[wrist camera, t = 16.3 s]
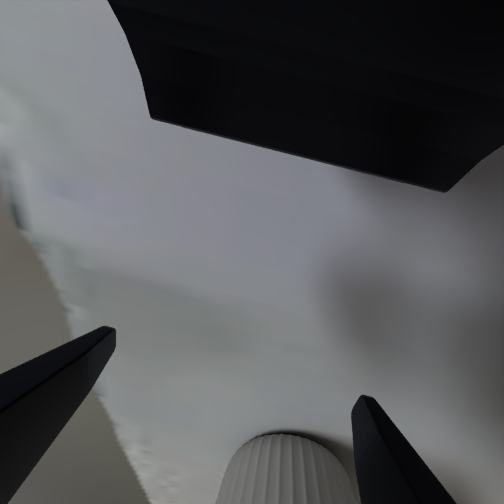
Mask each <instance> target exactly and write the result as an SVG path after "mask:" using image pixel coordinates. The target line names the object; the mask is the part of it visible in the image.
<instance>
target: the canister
mask: <svg viewBox="0 0 504 504" xmlns="http://www.w3.org/2000/svg"><path fill="white" fill-rule="evenodd" d="M215 504H358V502H357V499H356V495H355V492H354V489H353V487H352V484H351V482H350V480H349V477H348V475H347V473H346V471H345V469H344V467H343V466H342V465H341V463H340V462H339V460H338V459H337V458H336V457H335V456H334V455H333V454H332V453H331V452H330V451H329V450H328V449H325V447H324V446H322V445H319V444H317V443H316V442H315V441H310V440H309V439H307V438H302V437H300V436H293V435H291V434H290V435H284V434H279V435H277V434H272V435H265V436H263V437H257V438H256V439H252V440H250V441H249V442H247V443H245V444H244V445H243V446H242V447H240V448H239V449H238V450H237V451H236V453H235V455H234V456H233V457H232V459H231V460H230V462H229V464H228V467H227V469H226V472H225V475H224V478H223V480H222V484H221V487H220V490H219V493H218V497H217V500H216V503H215Z"/></svg>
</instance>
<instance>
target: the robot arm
mask: <svg viewBox="0 0 504 504" xmlns="http://www.w3.org/2000/svg"><path fill="white" fill-rule="evenodd" d="M108 2H109V4H110V6H111V8H112V10H113V12H114V14H115V15H116V17H117V19H118V21H119V23H120V25H121V27H122V29H123V31H124V32H125V35H126V37H127V40H128V43H129V45H130V48H131V51H132V53H133V56H134V59H135V61H136V64H137V66H138V69H139V72H140V74H141V78H142V82H143V87H144V91H145V96H146V100H147V105H148V109H149V113H150V117H151V118H152V119H154V120H158V121H162V122H166V123H169V124H173V125H177V126H181V127H184V128H188V129H192V130H195V131H199V132H203V133H207V134H211V135H215V136H219V137H223V138H227V139H231V140H235V141H239V142H243V143H247V144H251V145H255V146H259V147H263V148H267V149H271V150H275V151H279V152H283V153H287V154H291V155H295V156H299V157H303V158H307V159H310V160H314V161H318V162H322V163H326V164H330V165H334V166H338V167H342V168H346V169H350V170H354V171H358V172H362V173H366V174H370V175H374V176H378V177H382V178H386V179H390V180H394V181H398V182H402V183H407V184H411V185H415V186H419V187H423V188H427V189H431V190H435V191H439V192H443V193H445V192H447V191H448V190H450V189H451V188H452V187H453V186H454V185H455V184H456V183H457V182H458V181H459V180H460V179H461V178H463V177H464V176H465V175H466V174H467V173H468V172H469V171H470V170H471V169H472V168H473V167H474V166H475V165H476V164H477V163H479V162H480V161H481V160H482V159H484V158H485V157H486V156H488V155H489V154H491V153H492V152H494V151H495V150H497V149H498V148H499V147H501V146H502V145H504V0H108ZM115 347H116V329H115V328H112V327H108V326H102V327H100V328H97V329H95V330H93V331H91V332H89V333H87V334H85V335H83V336H80V337H78V338H76V339H74V340H72V341H70V342H68V343H66V344H63V345H61V346H59V347H57V348H55V349H53V350H51V351H49V352H46V353H44V354H42V355H40V356H38V357H36V358H34V359H32V360H29V361H27V362H25V363H23V364H21V365H19V366H17V367H15V368H12V369H10V370H8V371H6V372H4V373H2V374H0V504H8V502H9V501H10V500H11V498H12V497H13V495H14V494H15V493H16V491H17V490H18V489H19V487H20V486H21V484H22V483H23V482H24V481H25V479H26V478H27V476H28V475H29V474H30V472H31V471H32V470H33V468H34V467H35V466H36V464H37V463H38V461H39V460H40V459H41V457H42V456H43V455H44V453H45V452H46V451H47V449H48V448H49V447H50V445H51V444H52V442H53V441H54V440H55V438H56V437H57V436H58V434H59V433H60V431H61V430H62V429H63V428H64V426H65V425H66V423H67V422H68V421H69V419H70V418H71V417H72V415H73V414H74V413H75V411H76V410H77V409H78V407H79V406H80V404H81V403H82V402H83V400H84V399H85V398H86V396H87V395H88V393H89V392H90V390H91V389H92V387H93V386H94V384H95V382H96V380H97V379H98V377H99V375H100V374H101V372H102V370H103V369H104V367H105V365H106V364H107V362H108V360H109V359H110V357H111V355H112V354H113V352H114V350H115ZM351 419H352V433H353V447H354V459H355V468H356V475H357V481H358V487H359V492H360V498H361V504H456V502H455V501H454V500H453V498H452V497H451V496H450V495H449V493H448V492H447V491H446V489H445V488H444V487H443V486H442V484H441V483H440V482H439V480H438V479H437V478H436V477H435V475H434V474H433V473H432V471H431V470H430V469H429V468H428V466H427V465H426V464H425V463H424V461H423V460H422V459H421V457H420V456H419V455H418V454H417V452H416V451H415V450H414V448H413V447H412V446H411V445H410V443H409V442H408V441H407V439H406V438H405V437H404V436H403V434H402V433H401V432H400V431H399V429H398V428H397V427H396V425H395V424H394V423H393V422H392V420H391V419H390V418H389V416H388V415H387V414H386V413H385V411H384V410H383V409H382V407H381V406H380V405H379V404H378V402H377V401H376V400H375V399H374V398H373V397H370V396H366V395H361V396H360V397H359V398H358V400H357V402H356V404H355V405H354V407H353V409H352V412H351Z"/></svg>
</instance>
